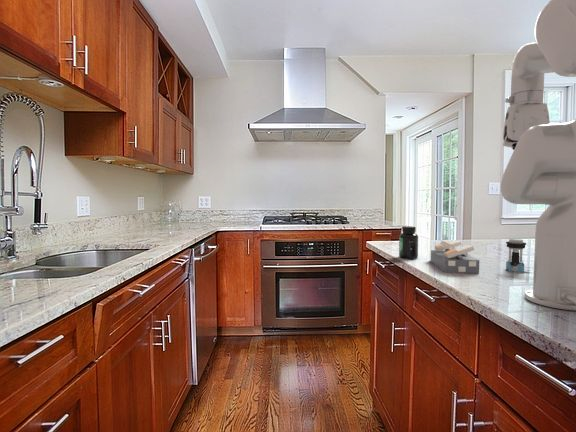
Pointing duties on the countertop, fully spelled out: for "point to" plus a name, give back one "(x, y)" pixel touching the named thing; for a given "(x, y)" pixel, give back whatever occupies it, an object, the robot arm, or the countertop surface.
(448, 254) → the rocker
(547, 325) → the countertop surface
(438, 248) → the rocker
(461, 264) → the console
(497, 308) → the countertop surface
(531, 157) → the robot arm
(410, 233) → the supplement bottle
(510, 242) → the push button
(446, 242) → the rocker
